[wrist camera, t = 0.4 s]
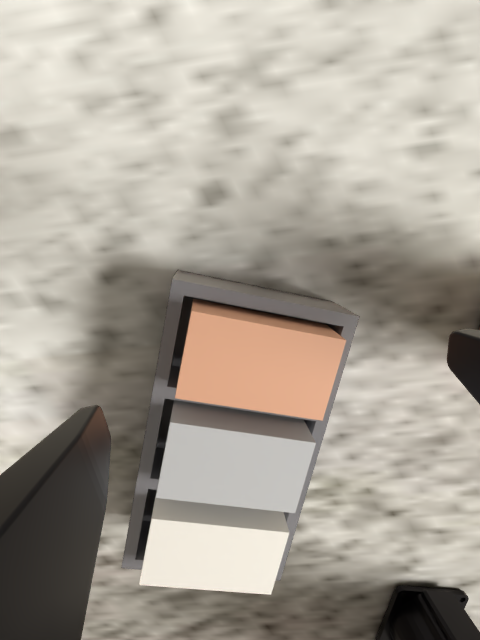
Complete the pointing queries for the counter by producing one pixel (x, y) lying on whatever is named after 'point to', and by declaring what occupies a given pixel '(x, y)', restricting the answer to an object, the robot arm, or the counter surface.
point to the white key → (213, 547)
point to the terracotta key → (258, 361)
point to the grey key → (234, 458)
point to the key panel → (164, 395)
